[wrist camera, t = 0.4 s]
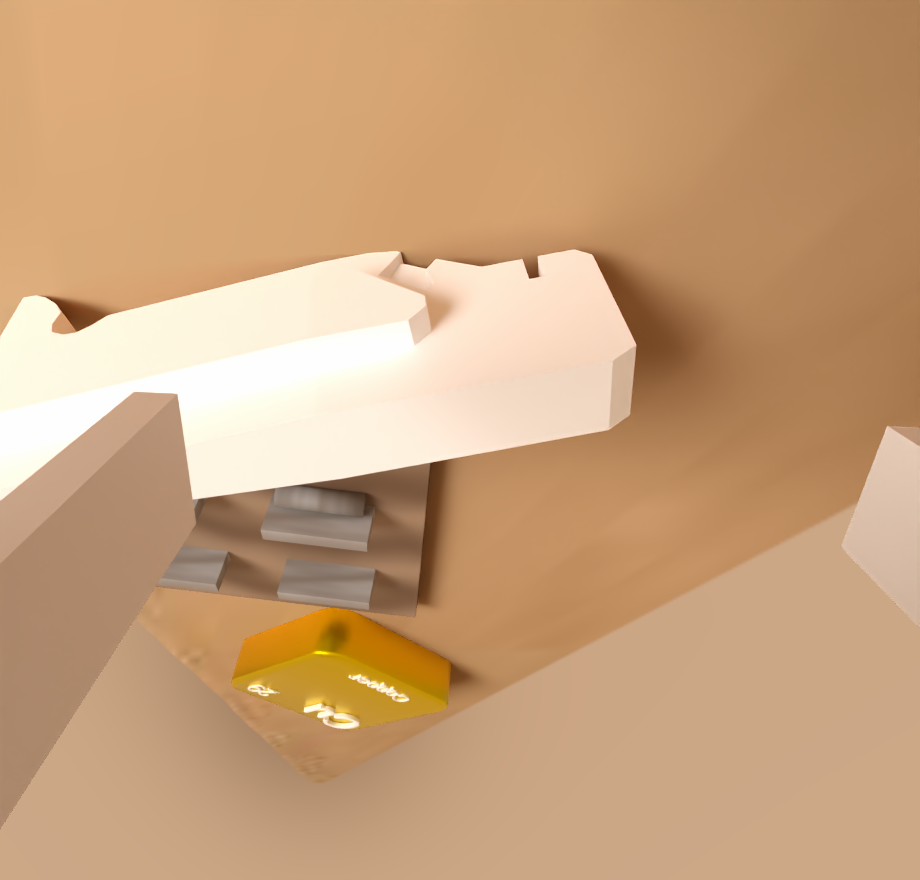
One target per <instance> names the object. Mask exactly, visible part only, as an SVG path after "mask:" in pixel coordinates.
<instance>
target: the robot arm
mask: <svg viewBox="0 0 920 880" xmlns="http://www.w3.org/2000/svg"><path fill="white" fill-rule="evenodd" d="M195 525H196V519H195V512H194V505H193V498H192V491H191V484H190V477H189V470H188V463H187V456H186V449H185V442H184V435H183V428H182V421H181V414H180V407H179V400H178V394H176V393H154V392H133V393H132V394H130V395H129V396H128V397H127V398H125V399H124V400H123V401H122V402H121V403H119V404H118V405H117V406H116V407H114V408H113V409H112V410H111V411H110V412H108V413H107V414H106V415H105V416H103V417H102V418H101V419H100V420H99V421H97V422H96V423H95V424H94V425H92V426H91V427H90V428H89V429H88V430H86V431H85V432H84V433H83V434H81V435H80V436H79V437H78V438H77V439H75V440H74V441H73V442H72V443H70V444H69V445H68V446H67V447H65V448H64V449H63V450H62V451H61V452H59V453H58V454H57V455H56V456H54V457H53V458H52V459H51V460H50V461H48V462H47V463H46V464H45V465H43V466H42V467H41V468H40V469H39V470H37V471H36V472H35V473H34V474H32V475H31V476H30V477H29V478H28V479H26V480H25V481H24V482H23V483H21V484H20V485H19V486H18V487H17V488H15V489H14V490H13V491H12V492H10V493H9V494H8V495H7V496H6V497H4V498H3V499H2V500H1V501H0V829H1V827H2V826H3V824H4V822H5V821H6V819H7V818H8V816H9V814H10V813H11V812H12V810H13V808H14V807H15V805H16V804H17V802H18V801H19V799H20V798H21V796H22V794H23V793H24V791H25V790H26V788H27V787H28V785H29V784H30V782H31V780H32V779H33V777H34V776H35V774H36V772H37V771H38V770H39V768H40V766H41V765H42V763H43V762H44V760H45V759H46V757H47V756H48V754H49V752H50V751H51V749H52V748H53V746H54V744H55V743H56V741H57V740H58V738H59V737H60V735H61V734H62V732H63V731H64V729H65V727H66V726H67V724H68V723H69V721H70V719H71V718H72V717H73V715H74V713H75V712H76V710H77V709H78V707H79V706H80V704H81V703H82V701H83V699H84V698H85V696H86V695H87V693H88V692H89V690H90V689H91V687H92V685H93V684H94V682H95V681H96V679H97V678H98V676H99V674H100V673H101V671H102V670H103V668H104V667H105V665H106V663H107V662H108V660H109V659H110V657H111V656H112V654H113V653H114V651H115V649H116V648H117V646H118V645H119V643H120V642H121V640H122V639H123V637H124V636H125V634H126V632H127V631H128V629H129V628H130V626H131V625H132V623H133V621H134V620H135V618H136V617H137V615H138V614H139V612H140V611H141V609H142V608H143V606H144V604H145V603H146V601H147V600H148V598H149V597H150V595H151V593H152V592H153V590H154V589H155V587H156V586H157V584H158V583H159V581H160V579H161V578H162V576H163V575H164V573H165V572H166V570H167V569H168V567H169V565H170V564H171V562H172V561H173V559H174V558H175V556H176V555H177V553H178V551H179V550H180V548H181V547H182V545H183V544H184V542H185V541H186V539H187V537H188V536H189V534H190V533H191V531H192V530H193V528H194V527H195ZM841 548H842V549H843V550H844V551H845V552H846V553H847V554H848V555H849V556H850V557H851V558H852V559H853V560H854V561H855V562H856V563H857V564H858V565H859V566H860V567H861V568H862V569H863V570H864V571H865V572H866V573H867V574H868V575H869V576H870V577H871V578H872V579H873V581H874V582H875V583H876V584H877V585H878V586H879V587H880V588H881V589H882V590H883V591H884V592H885V593H886V594H887V595H888V596H889V597H890V598H891V599H892V600H893V601H894V602H895V603H896V604H897V605H898V606H899V607H900V608H901V609H902V610H903V611H904V612H905V613H906V614H907V615H908V616H909V617H910V619H911V620H912V621H913V622H914V623H915V624H916V625H917V626H918V627H919V628H920V427H904V426H887V428H886V430H885V433H884V436H883V438H882V441H881V444H880V446H879V449H878V451H877V454H876V457H875V459H874V462H873V464H872V467H871V470H870V472H869V475H868V478H867V480H866V483H865V485H864V488H863V491H862V493H861V496H860V499H859V501H858V504H857V506H856V510H855V512H854V514H853V517H852V519H851V522H850V525H849V527H848V530H847V533H846V536H845V538H844V540H843V543H842V546H841Z"/></svg>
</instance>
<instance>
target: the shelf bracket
mask: <svg viewBox="0 0 920 880" xmlns="http://www.w3.org/2000/svg"><path fill="white" fill-rule="evenodd" d="M538 271H539V277H537V278H532V279H529V277H528V274H527V271H526V269H525V266H524V263H523V260H522V259H520V260H515V261H509V262H504V263H499V264H493V265H488V266H483V267H480V266H474V265H469V264H463V263H457V262H451V261H446V260H440V259H435V260H434V261H433V262H432V264H431V265H430V266H429V267H428V268H427V269H425V268H420V267H416V266H411V265H407V264H403V260H402V255H401V252H398V251H391V252H378V253H367V254H361V255H356V256H351V257H345V258H340V259H335V260H330V261H324V262H320V263H316V264H312V265H308V266H304V267H300V268H296V269H292V270H288V271H284V272H280V273H276V274H272V275H268V276H264V277H260V278H256V279H252V280H248V281H244V282H240V283H236V284H232V285H228V286H224V287H220V288H216V289H212V290H208V291H204V292H200V293H196V294H192V295H188V296H184V297H180V298H176V299H172V300H168V301H164V302H160V303H156V304H152V305H148V306H144V307H140V308H136V309H132V310H128V311H124V312H120V313H116V314H112V315H108V316H106V317H104V318H102V319H101V320H99V321H97V322H96V323H94V324H93V325H91V326H89V327H87V328H84V329H82V330H80V331H78V332H77V331H76V330H75V329H74V327H73V326H72V325H71V323H70V322H69V321H68V319H67V318H66V317H65V315H64V314H63V313H62V311H61V310H60V309H59V307H58V306H57V305H56V304H55V303H54V302H52V301H51V300H49V299H47V298H46V297H41V296H37V295H36V296H30V297H24V298H23V299H22V301H21V303H20V304H19V306H18V308H17V309H16V311H15V313H14V314H13V316H12V318H11V320H10V321H9V323H8V325H7V326H6V328H5V330H4V331H3V333H2V335H1V337H0V501H1V500H2V499H3V498H4V497H6V496H7V495H8V494H9V493H10V492H12V491H13V490H14V489H15V488H17V487H18V486H19V485H20V484H21V483H23V482H24V481H25V480H26V479H28V478H29V477H30V476H31V475H32V474H34V473H35V472H36V471H37V470H39V469H40V468H41V467H42V466H43V465H45V464H46V463H47V462H48V461H50V460H51V459H52V458H53V457H54V456H56V455H57V454H58V453H59V452H61V451H62V450H63V449H64V448H65V447H67V446H68V445H69V444H70V443H72V442H73V441H74V440H75V439H77V438H78V437H79V436H80V435H81V434H83V433H84V432H85V431H86V430H88V429H89V428H90V427H91V426H92V425H94V424H95V423H96V422H97V421H99V420H100V419H101V418H102V417H103V416H105V415H106V414H107V413H108V412H110V411H111V410H112V409H113V408H114V407H116V406H117V405H118V404H119V403H121V402H122V401H123V400H124V399H125V398H127V397H128V396H129V395H130V394H132V393H133V392H154V393H176V394H178V400H179V407H180V414H181V421H182V428H183V435H184V442H185V449H186V456H187V463H188V470H189V477H190V484H191V491H192V498H193V499H200V498H207V497H215V496H222V495H229V494H236V493H243V492H250V491H257V490H264V489H272V488H279V487H286V486H293V485H300V484H307V483H314V482H322V481H329V480H336V479H343V478H348V477H354V476H359V475H365V474H370V473H376V472H381V471H387V470H392V469H398V468H403V467H409V466H414V465H420V464H425V463H431V462H436V461H441V460H447V459H452V458H458V457H463V456H469V455H474V454H480V453H485V452H491V451H496V450H502V449H507V448H513V447H518V446H524V445H529V444H535V443H540V442H546V441H551V440H556V439H562V438H567V437H573V436H578V435H584V434H589V433H595V432H600V431H606V430H609V429H611V428H612V427H614V426H615V425H616V424H618V423H619V422H621V421H622V420H623V419H625V418H626V417H628V416H629V415H630V409H631V398H632V387H633V376H634V366H635V355H636V343H635V341H634V339H633V337H632V335H631V333H630V331H629V328H628V326H627V324H626V322H625V320H624V318H623V316H622V314H621V312H620V310H619V308H618V306H617V304H616V302H615V300H614V298H613V296H612V294H611V292H610V290H609V288H608V286H607V283H606V281H605V279H604V277H603V275H602V273H601V271H600V269H599V267H598V265H597V263H596V261H595V259H594V257H593V255H592V254H589V253H585V252H582V251H578V250H575V249H573V250H568V251H563V252H557V253H552V254H547V255H541V256H538Z"/></svg>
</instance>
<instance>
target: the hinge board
mask: <svg viewBox="0 0 920 880" xmlns="http://www.w3.org/2000/svg"><path fill="white" fill-rule="evenodd" d="M430 468H431V463H425V464H420V465H414V466H409V467H403V468H398V469H392V470H387V471H381V472H376V473H370V474H365V475H359V476H354V477H348V478H343V479H336V480H329V481H322V482H314V483H307V484H300V485H293V486H286V487H279V488H272V489H264V490H257V491H250V492H243V493H236V494H229V495H222V496H215V497H207V498H200V499H193V505H194V512H195V519H196V525H195V527H194V528H193V530H192V531H191V533H190V534H189V536H188V537H187V539H186V541H185V542H184V544H183V545H182V547H181V548H180V550H179V551H178V553H177V555H176V556H175V558H174V559H173V561H172V562H171V564H170V565H169V567H168V569H167V570H166V572H165V573H164V575H163V576H162V578H161V579H160V581H159V583H158V584H157V586H156V587H163V588H171V589H179V590H188V591H196V592H205V593H213V594H221V595H230V596H238V597H247V598H255V599H263V600H272V601H280V602H288V603H297V604H305V605H314V606H322V607H330V608H339V609H347V610H356V611H364V612H372V613H381V614H389V615H398V616H406V617H414V618H415V616H416V609H417V601H418V592H419V581H420V571H421V561H422V551H423V540H424V530H425V520H426V509H427V499H428V489H429V478H430Z"/></svg>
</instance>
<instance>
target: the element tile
mask: <svg viewBox="0 0 920 880" xmlns="http://www.w3.org/2000/svg"><path fill="white" fill-rule="evenodd" d="M450 676H451V663H450V662H449V661H447V660H446V659H444V658H442V657H441V656H439V655H437V654H435V653H433V652H431V651H429V650H427V649H425V648H423V647H421V646H419V645H417V644H416V643H414V642H412V641H410V640H408V639H406V638H404V637H402V636H400V635H398V634H396V633H394V632H392V631H391V630H389V629H387V628H385V627H383V626H381V625H379V624H377V623H375V622H373V621H371V620H369V619H368V618H366V617H364V616H362V615H360V614H358V613H355V612H353V611H350V610H346V609H339V608H326V609H322V610H319V611H317V612H314V613H311V614H309V615H306V616H304V617H301V618H298V619H296V620H293V621H291V622H288V623H285V624H283V625H280V626H277V627H275V628H272V629H270V630H267V631H264V632H262V633H259V634H257V635H254V636H251V637H249V638H246V639H245V640H244V642H243V644H242V648H241V651H240V654H239V657H238V660H237V663H236V666H235V670H234V673H233V676H232V679H231V683H232V686H233V687H234V688H235V689H237V690H239V691H242V692H245V693H247V694H250V695H253V696H255V697H258V698H260V699H263V700H266V701H268V702H271V703H274V704H276V705H279V706H281V707H284V708H287V709H289V710H292V711H294V712H297V713H300V714H302V715H305V716H308V717H310V718H313V719H315V720H318V721H321V722H323V723H324V724H326V725H328V726H331V727H334V728H339V729H342V730H356V729H361V728H365V727H370V726H375V725H380V724H384V723H389V722H394V721H398V720H403V719H408V718H413V717H417V716H422V715H427V714H432V713H436V712H441V711H443V710H445V709H446V708H447V706H448V698H449V687H450Z"/></svg>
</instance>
